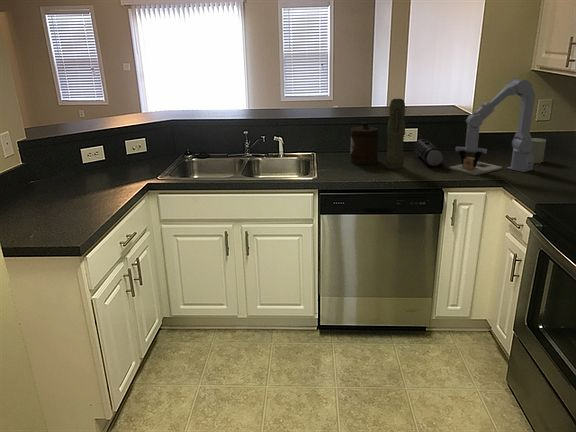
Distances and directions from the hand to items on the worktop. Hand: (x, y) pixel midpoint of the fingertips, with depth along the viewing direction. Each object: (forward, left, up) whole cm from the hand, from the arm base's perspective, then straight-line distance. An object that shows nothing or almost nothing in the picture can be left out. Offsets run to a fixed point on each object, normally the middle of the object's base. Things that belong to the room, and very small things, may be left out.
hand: (469, 166), depth 239 cm
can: (-8, -41, -2) cm, 42 cm away
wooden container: (+47, +29, -2) cm, 55 cm away
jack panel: (0, -5, -2) cm, 5 cm away
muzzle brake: (+25, +3, -2) cm, 25 cm away
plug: (0, 0, -2) cm, 2 cm away
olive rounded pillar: (+27, +25, -2) cm, 37 cm away
